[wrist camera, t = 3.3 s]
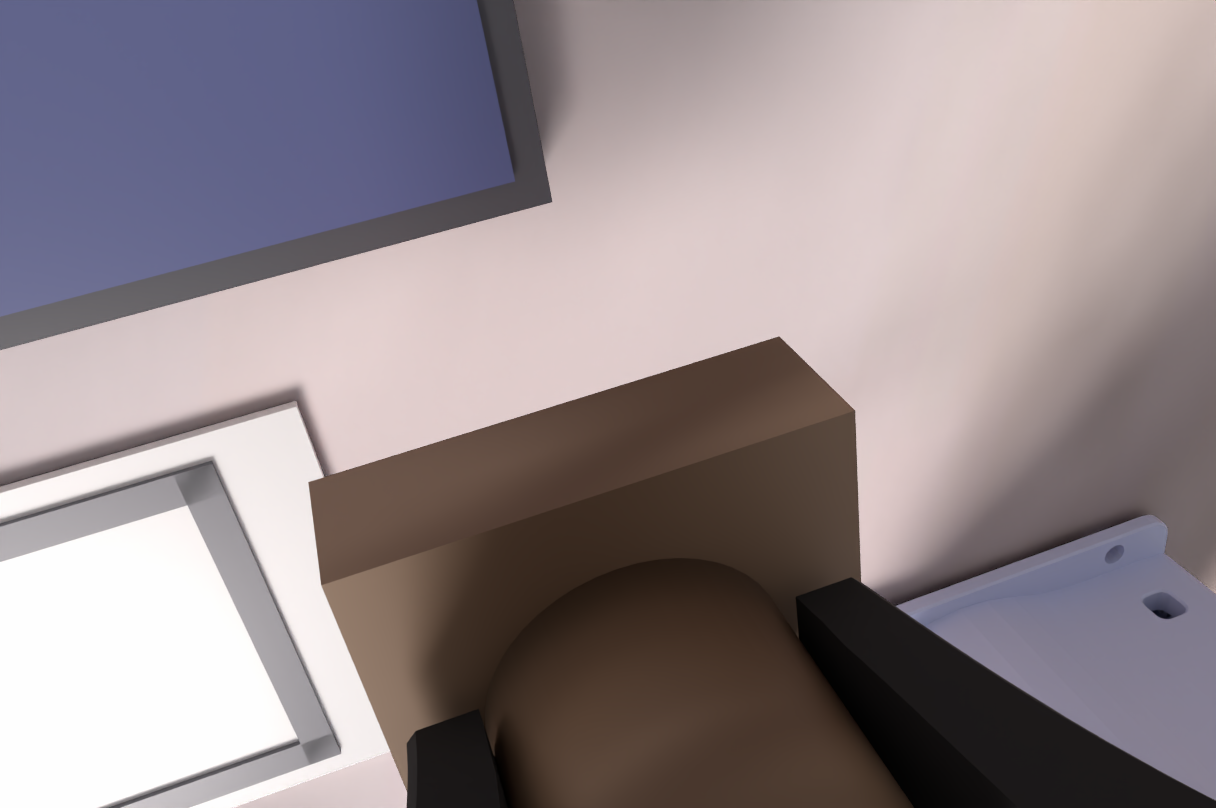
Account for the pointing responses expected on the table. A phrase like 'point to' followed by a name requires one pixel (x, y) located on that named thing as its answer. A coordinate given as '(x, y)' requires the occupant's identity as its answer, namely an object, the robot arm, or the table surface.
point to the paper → (173, 627)
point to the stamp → (617, 590)
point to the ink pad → (243, 143)
